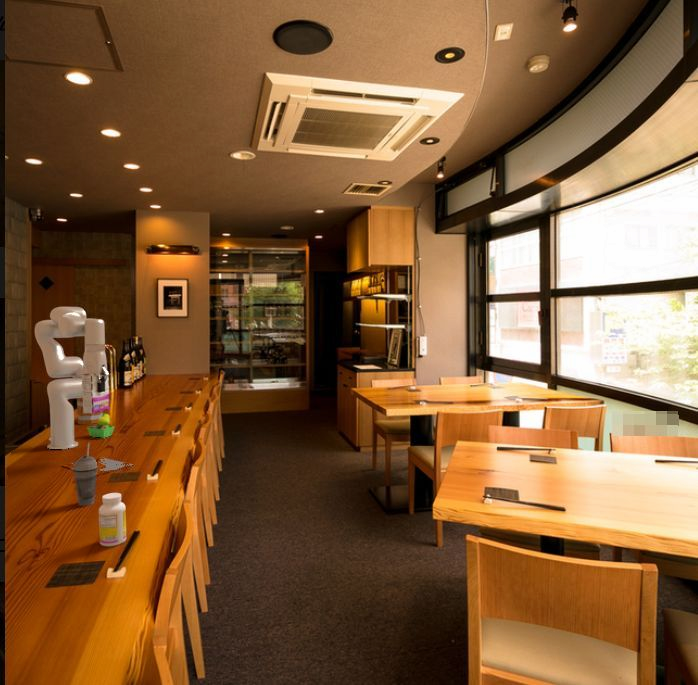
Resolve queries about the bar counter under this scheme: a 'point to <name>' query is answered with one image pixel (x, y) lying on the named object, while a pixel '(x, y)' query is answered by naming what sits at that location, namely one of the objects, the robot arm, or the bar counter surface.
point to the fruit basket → (101, 427)
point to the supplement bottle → (112, 520)
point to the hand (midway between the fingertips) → (96, 390)
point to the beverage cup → (85, 479)
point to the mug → (84, 417)
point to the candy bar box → (94, 395)
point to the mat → (111, 464)
